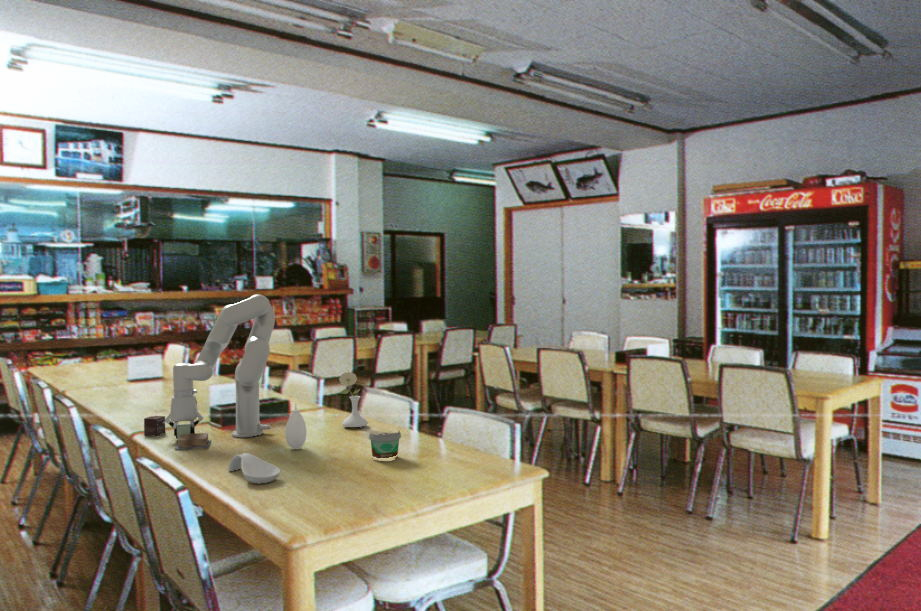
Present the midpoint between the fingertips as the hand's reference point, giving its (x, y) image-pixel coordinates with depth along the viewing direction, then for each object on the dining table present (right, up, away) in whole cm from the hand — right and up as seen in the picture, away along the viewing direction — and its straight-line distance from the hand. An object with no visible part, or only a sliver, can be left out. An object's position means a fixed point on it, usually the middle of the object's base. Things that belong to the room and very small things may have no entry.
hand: (184, 436), depth 269 cm
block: (0, -1, 0) cm, 1 cm away
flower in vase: (+65, -1, +25) cm, 70 cm away
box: (-16, -1, +9) cm, 19 cm away
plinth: (+7, -2, -9) cm, 12 cm away
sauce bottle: (+49, -2, -14) cm, 51 cm away
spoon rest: (+44, -4, -50) cm, 67 cm away
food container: (+87, -3, -28) cm, 91 cm away
